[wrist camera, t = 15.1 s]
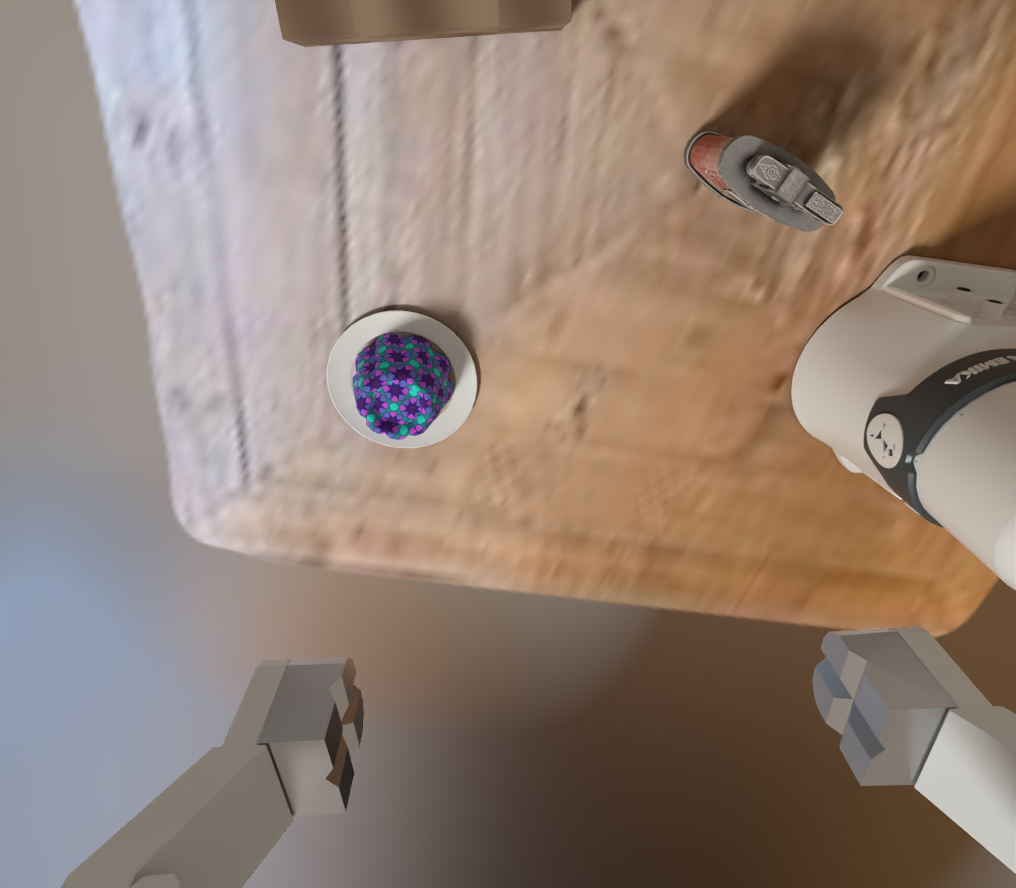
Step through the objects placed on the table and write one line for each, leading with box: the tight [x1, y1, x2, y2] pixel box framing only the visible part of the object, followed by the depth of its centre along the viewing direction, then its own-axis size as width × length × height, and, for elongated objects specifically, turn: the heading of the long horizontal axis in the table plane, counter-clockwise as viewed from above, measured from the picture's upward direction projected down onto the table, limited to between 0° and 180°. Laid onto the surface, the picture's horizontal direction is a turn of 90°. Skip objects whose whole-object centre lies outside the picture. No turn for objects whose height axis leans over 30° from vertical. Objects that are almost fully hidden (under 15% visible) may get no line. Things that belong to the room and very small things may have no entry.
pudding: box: [327, 311, 477, 448], centre depth 47 cm, size 12×12×5 cm
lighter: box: [683, 131, 843, 232], centre depth 38 cm, size 8×3×10 cm, turn 61°
